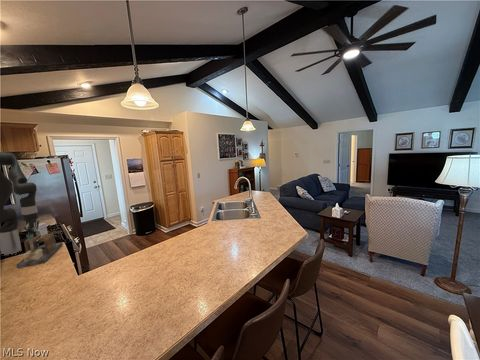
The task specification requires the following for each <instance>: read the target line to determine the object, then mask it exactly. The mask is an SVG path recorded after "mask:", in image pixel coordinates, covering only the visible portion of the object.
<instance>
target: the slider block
mask: <svg viewBox="0 0 480 360" xmlns="http://www.w3.org/2000/svg"><path fill="white" fill-rule="evenodd" d="M25 236H26V239H29V243H30V249H31V250H30V251H28V252H26V251H25V253H24V254H23V259H24V262H28V261H33V260H39V259H40V258H41V257H42V256H43V252H42V249H37V250H34V246H33V240H32V237H34V236H33V233H32V234H31V233H27V234H25Z"/></svg>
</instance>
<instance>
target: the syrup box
mask: <svg viewBox="0 0 480 360" xmlns="http://www.w3.org/2000/svg"><path fill="white" fill-rule="evenodd" d="M36 234H37V235H41V237H42V236H43V235H45V234H49V233H48V228H47V223H46V222H39V225H38V229H37V231H36ZM41 237H40V238H41ZM37 242H38V240H36V243H37ZM40 242H43V241H40ZM38 243H39V242H38Z"/></svg>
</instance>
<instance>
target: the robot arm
mask: <svg viewBox="0 0 480 360" xmlns="http://www.w3.org/2000/svg"><path fill="white" fill-rule="evenodd" d="M0 166H10V167H11V168H10V169H9V171H8V172H7V173H8V174H7V176H8V177H7V176H6V175H5V174H4V173H3V172H2V169H1V168H0V225H1V224H3V223H4V224H3V225H2V226H1V227H0V254H4V255H3V256H10V255H9V254H11V255H13V254H14V253H15V254H17V252H18V253H19V251H20V252H22V244H21V240H20V235H19V228H18V226H19V221H18V214H17V211H16V209H14V208H5V205H6V203H7V201H8V200H10V199H9V198H10V197H11V196H12V194H13V192H14V194H16V195H19V196H21V195H26V194H28V195H27V196H24V197H21V198H20V199H19V204H20V212H21V213H20V214H21V217H22V218H21V219H22V221H23V222H25V225H26V226H24V231H26V232H27V234H32V233H33V236H34V237H36V236H37V234H36V231H37V229H38V225H39V223H40V220H37V219H39V217H40V216H39V210H38V207H37V203H36V193H37V188H38V187H37V185H36V184H35V183H34V182H28V179H27V177H26V175H25V174H24V173H23V171H22V168H21V167H20V164H19V161H18V159H17V156H16V155H15V154H14V153H13V152H9V151H8V152H6V151H0ZM15 254H14V255H15Z"/></svg>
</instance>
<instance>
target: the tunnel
mask: <svg viewBox="0 0 480 360" xmlns="http://www.w3.org/2000/svg"><path fill="white" fill-rule="evenodd" d="M40 237H41V235H37V236H36V237H32V240H33V246H34V250H37V249H42V252H43V256H42V257H41V258H40V259H39V260H33V261H28V262H24V258H23V259H22V260H20V261H19V262H18V263H16V268H17V269H20V268H26V267H31V266H37V264H38V265H43V264H46V263H47V262H48V261H49V260H50V259H51V258H52V257H53V256H54V255H55V254H56V253H58V251H59V250H61V248H63V246H64V242H58V243H56V242H55V241H56V240H55V235H54V232H52V233H48V234H45V235H43V236H42V237H41V238H40ZM36 240H38V243H39V242H40V241H42V242H43V243H44V244H43V245H39V246H38V245H37V241H36ZM23 244H24V249H25V253H26V252H28V251H30V250H31V249H30V243H29V238H26V240H24V241H23ZM62 245H63V246H62ZM45 262H46V263H45ZM42 263H43V264H42Z"/></svg>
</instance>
